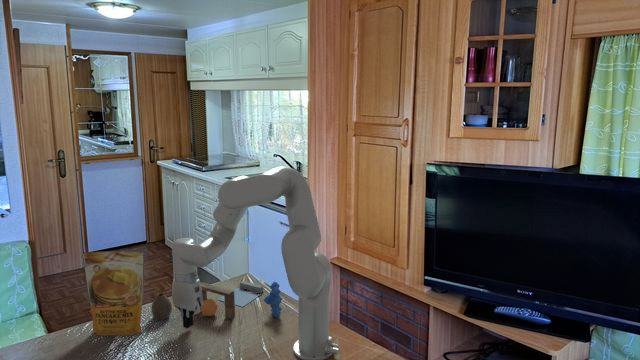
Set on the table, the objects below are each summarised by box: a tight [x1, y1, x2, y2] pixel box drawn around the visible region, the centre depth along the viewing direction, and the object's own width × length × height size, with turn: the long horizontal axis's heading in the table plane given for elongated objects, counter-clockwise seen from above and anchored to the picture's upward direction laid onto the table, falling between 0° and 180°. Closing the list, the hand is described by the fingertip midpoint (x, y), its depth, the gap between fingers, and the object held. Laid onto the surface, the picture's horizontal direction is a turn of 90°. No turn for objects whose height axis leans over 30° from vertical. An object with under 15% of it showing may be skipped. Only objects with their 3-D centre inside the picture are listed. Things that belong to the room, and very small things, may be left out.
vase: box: [150, 292, 173, 321], centre depth 162 cm, size 7×7×9 cm
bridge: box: [200, 281, 236, 320], centre depth 165 cm, size 3×15×10 cm, turn 62°
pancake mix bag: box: [81, 250, 146, 337], centre depth 150 cm, size 7×19×28 cm, turn 92°
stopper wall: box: [239, 280, 264, 294], centre depth 184 cm, size 10×2×2 cm, turn 62°
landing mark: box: [217, 287, 261, 308], centre depth 178 cm, size 12×12×1 cm
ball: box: [200, 298, 219, 317], centre depth 163 cm, size 6×6×6 cm
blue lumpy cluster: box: [263, 281, 283, 318], centre depth 164 cm, size 12×7×12 cm, turn 12°
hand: (188, 326), depth 154 cm, fingers closed
